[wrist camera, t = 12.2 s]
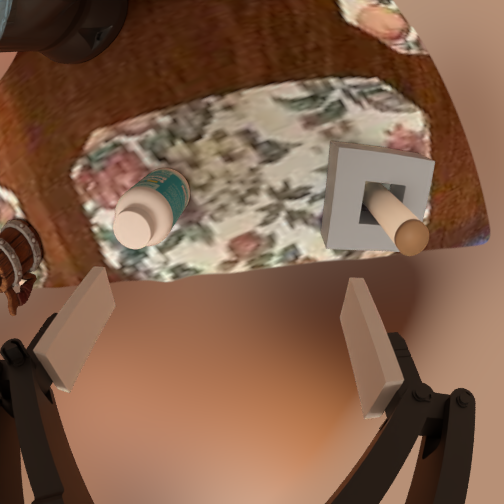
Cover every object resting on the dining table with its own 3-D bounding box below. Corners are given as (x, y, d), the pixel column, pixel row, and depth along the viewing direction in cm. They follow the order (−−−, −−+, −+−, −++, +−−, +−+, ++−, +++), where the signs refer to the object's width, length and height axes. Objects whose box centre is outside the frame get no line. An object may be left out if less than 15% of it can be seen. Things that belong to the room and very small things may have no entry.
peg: (360, 178, 41) (401, 220, 28) (385, 181, 40) (433, 223, 27) (356, 204, 43) (393, 255, 30) (381, 206, 42) (423, 256, 29)
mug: (24, 204, 44) (-19, 255, 32) (62, 259, 52) (31, 315, 41) (-3, 223, 46) (-41, 270, 34) (32, 271, 55) (4, 321, 43)
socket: (330, 140, 38) (338, 147, 34) (418, 153, 38) (434, 161, 34) (320, 232, 45) (326, 248, 41) (402, 237, 45) (414, 252, 40)
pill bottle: (176, 157, 40) (141, 187, 29) (200, 201, 43) (176, 246, 32) (135, 180, 42) (91, 216, 30) (158, 221, 45) (125, 268, 34)
